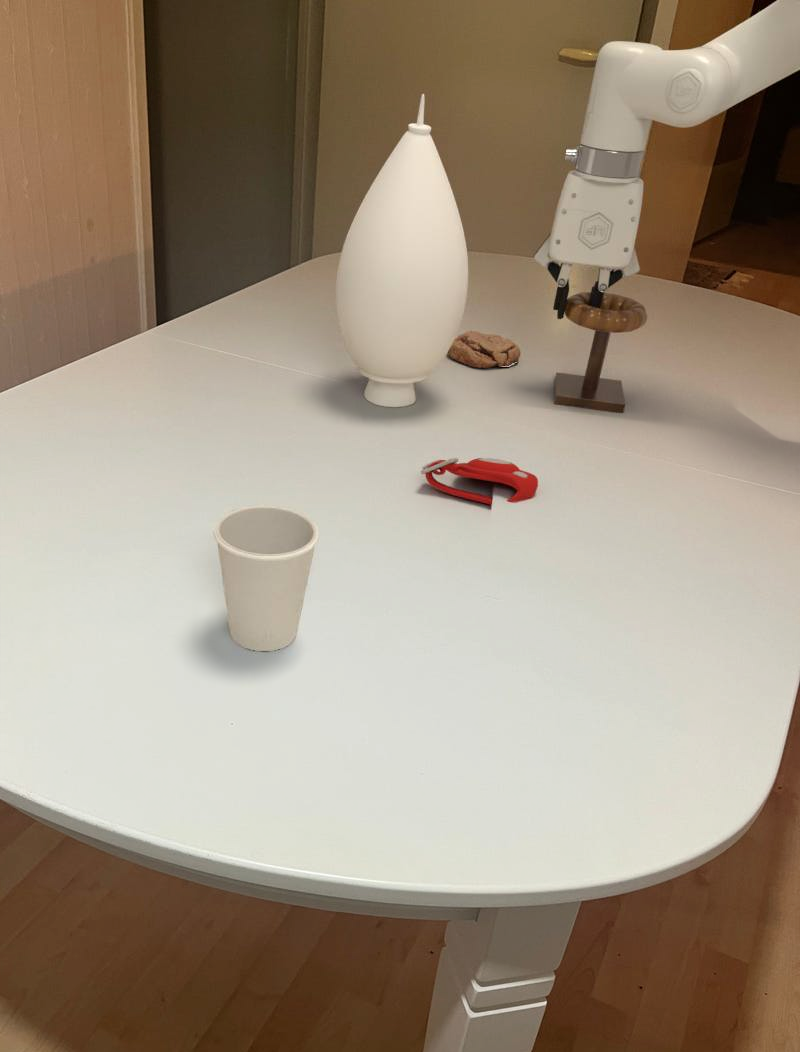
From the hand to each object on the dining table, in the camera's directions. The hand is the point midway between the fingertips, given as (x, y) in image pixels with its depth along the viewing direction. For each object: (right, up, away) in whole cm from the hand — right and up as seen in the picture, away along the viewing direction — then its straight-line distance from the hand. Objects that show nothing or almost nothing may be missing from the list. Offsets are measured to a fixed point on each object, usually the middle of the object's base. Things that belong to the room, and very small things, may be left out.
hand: (574, 316), depth 125 cm
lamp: (-24, -11, +1) cm, 26 cm away
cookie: (-9, -1, +16) cm, 18 cm away
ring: (+4, 0, -1) cm, 4 cm away
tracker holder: (-16, -26, -19) cm, 36 cm away
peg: (+3, -9, +6) cm, 11 cm away
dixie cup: (-38, -42, -44) cm, 71 cm away
